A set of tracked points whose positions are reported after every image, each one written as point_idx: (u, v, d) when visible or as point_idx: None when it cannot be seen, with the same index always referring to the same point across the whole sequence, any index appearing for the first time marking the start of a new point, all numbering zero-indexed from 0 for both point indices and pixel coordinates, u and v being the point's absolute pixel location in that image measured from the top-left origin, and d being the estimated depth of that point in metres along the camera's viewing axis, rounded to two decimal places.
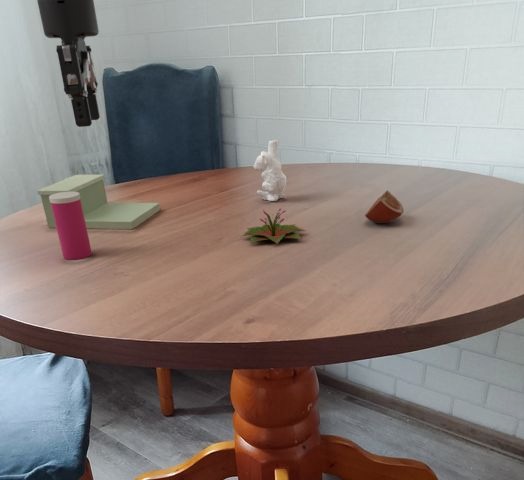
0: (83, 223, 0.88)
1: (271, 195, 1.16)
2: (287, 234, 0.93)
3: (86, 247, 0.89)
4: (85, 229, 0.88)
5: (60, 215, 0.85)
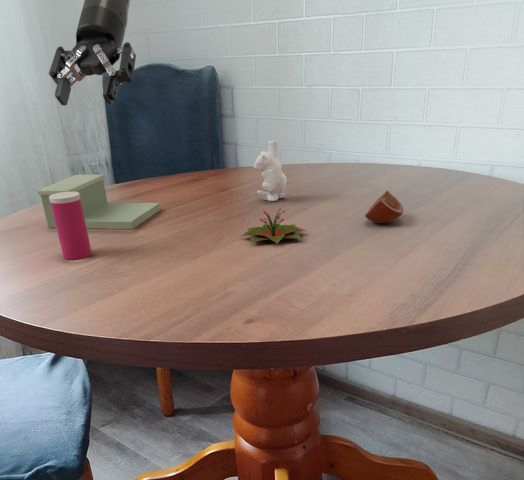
0: (83, 223, 0.88)
1: (271, 195, 1.16)
2: (287, 234, 0.93)
3: (86, 247, 0.89)
4: (85, 229, 0.88)
5: (60, 215, 0.85)
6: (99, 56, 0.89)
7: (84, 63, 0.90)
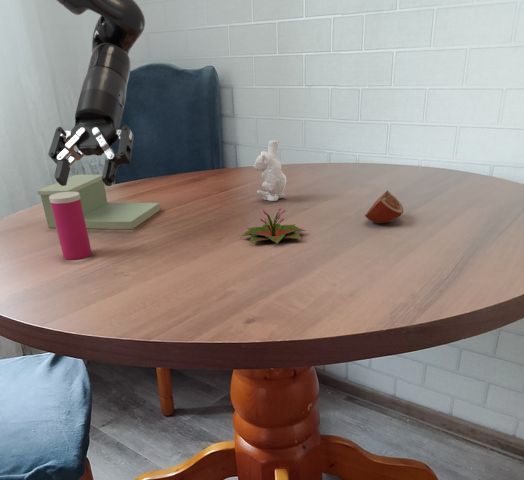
0: (83, 223, 0.88)
1: (271, 195, 1.16)
2: (287, 234, 0.93)
3: (86, 247, 0.89)
4: (85, 229, 0.88)
5: (60, 215, 0.85)
6: (98, 139, 0.91)
7: (83, 145, 0.92)
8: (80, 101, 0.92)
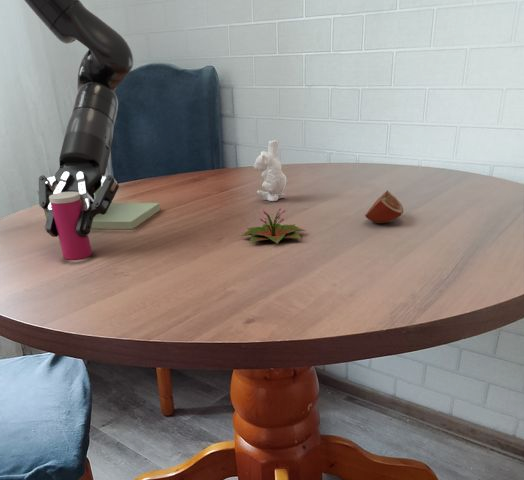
0: None
1: (271, 195, 1.16)
2: (287, 234, 0.93)
3: (86, 247, 0.89)
4: None
5: (60, 215, 0.85)
6: (79, 185, 0.87)
7: (67, 190, 0.88)
8: (64, 144, 0.88)
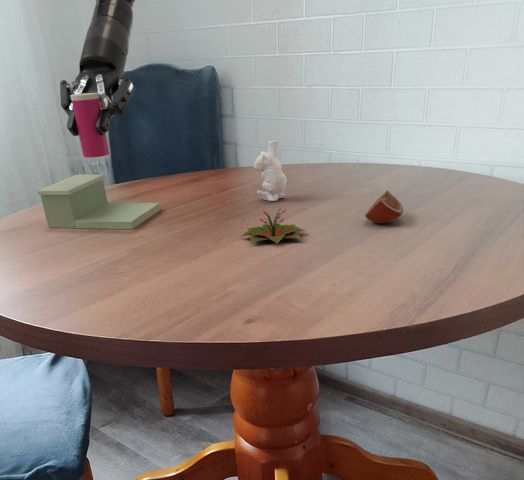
0: None
1: (271, 195, 1.16)
2: (287, 234, 0.93)
3: (104, 146, 0.95)
4: None
5: (81, 113, 0.92)
6: (98, 86, 0.94)
7: (87, 92, 0.95)
8: (84, 49, 0.94)
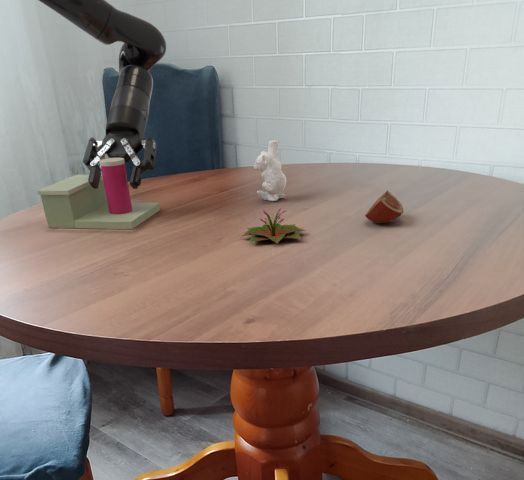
0: (126, 183, 1.06)
1: (271, 195, 1.16)
2: (287, 234, 0.93)
3: (128, 204, 1.07)
4: (128, 189, 1.07)
5: (109, 176, 1.04)
6: (126, 148, 1.05)
7: (113, 153, 1.06)
8: (110, 115, 1.06)
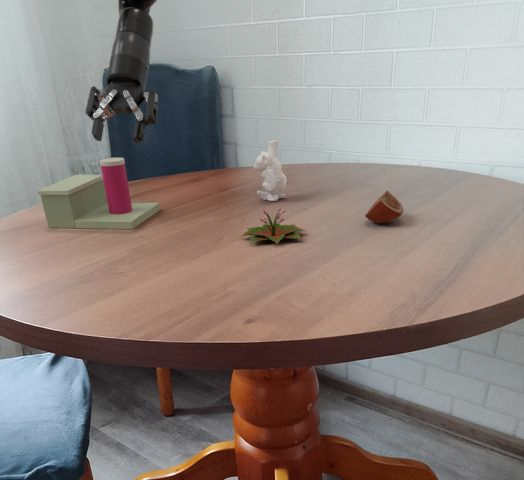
0: (126, 183, 1.06)
1: (271, 195, 1.16)
2: (287, 234, 0.93)
3: (128, 204, 1.07)
4: (128, 189, 1.07)
5: (109, 176, 1.04)
6: (128, 101, 1.06)
7: (115, 105, 1.08)
8: (112, 65, 1.06)
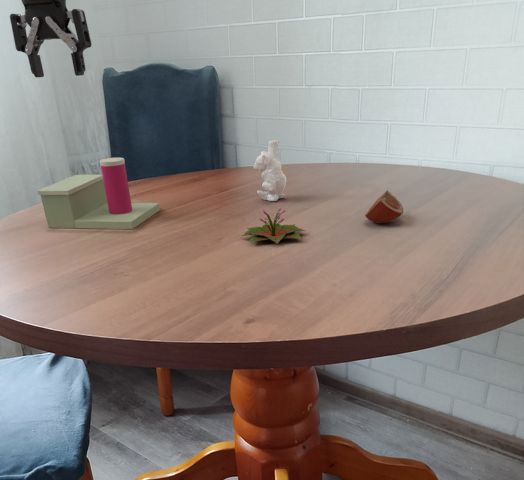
0: (126, 183, 1.06)
1: (271, 195, 1.16)
2: (287, 234, 0.93)
3: (128, 204, 1.07)
4: (128, 189, 1.07)
5: (109, 176, 1.04)
6: (55, 30, 0.97)
7: (43, 35, 0.98)
8: None
